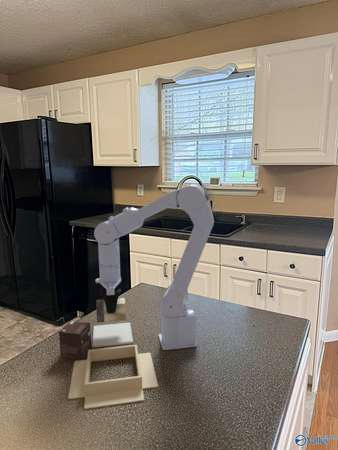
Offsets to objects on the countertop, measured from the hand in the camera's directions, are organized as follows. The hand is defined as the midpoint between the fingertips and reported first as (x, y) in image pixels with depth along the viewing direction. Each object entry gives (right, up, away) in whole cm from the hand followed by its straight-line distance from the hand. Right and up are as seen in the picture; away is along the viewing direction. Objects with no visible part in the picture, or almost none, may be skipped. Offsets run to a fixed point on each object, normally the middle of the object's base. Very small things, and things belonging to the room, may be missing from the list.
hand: (111, 309), depth 91 cm
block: (0, -3, +1) cm, 3 cm away
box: (-8, -10, -7) cm, 14 cm away
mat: (0, -8, +1) cm, 8 cm away
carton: (+3, -11, -16) cm, 20 cm away
